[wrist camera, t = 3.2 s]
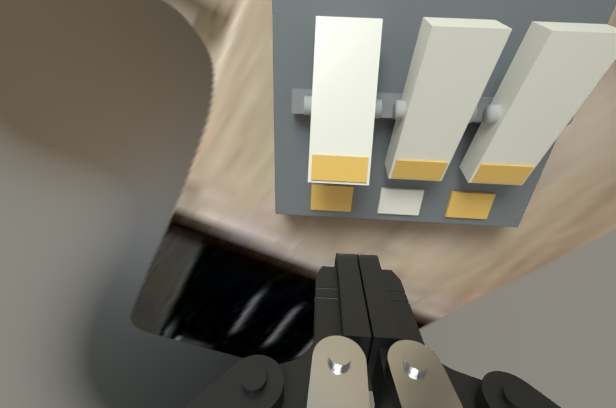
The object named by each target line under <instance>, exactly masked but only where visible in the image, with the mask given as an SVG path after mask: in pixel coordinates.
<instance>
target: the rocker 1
mask: <svg viewBox="0 0 616 408" xmlns="http://www.w3.org/2000/svg"><path fill="white" fill-rule="evenodd" d="M382 23H383V19H380V18H354V17H329V16H316V26H315V46H314V66H313V86H312V96H305V97H304V115H311V126H310V146H309V166H308V182H312V183H331V184H350V185H369V179H370V167H371V155H372V143H373V131H374V119H375V118H380V116H381V112H382V99H376V95H377V83H378V71H379V59H380V47H381V35H382Z"/></svg>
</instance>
